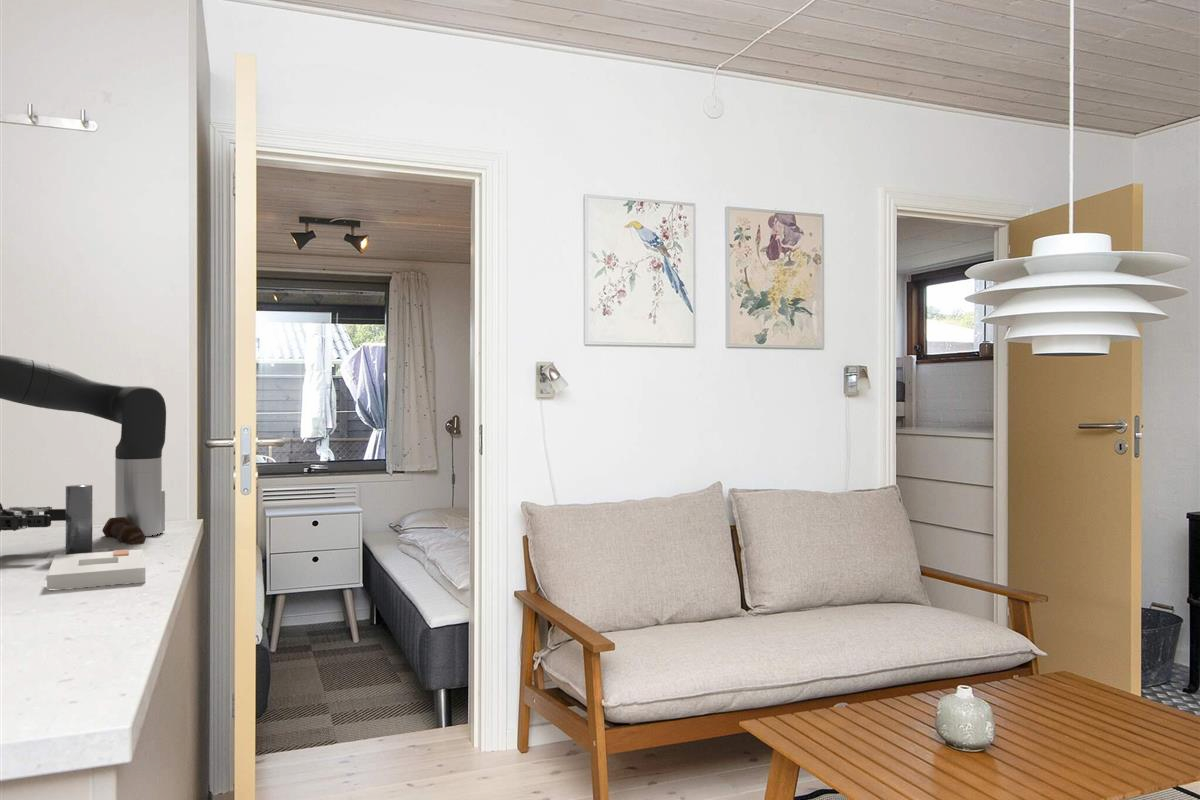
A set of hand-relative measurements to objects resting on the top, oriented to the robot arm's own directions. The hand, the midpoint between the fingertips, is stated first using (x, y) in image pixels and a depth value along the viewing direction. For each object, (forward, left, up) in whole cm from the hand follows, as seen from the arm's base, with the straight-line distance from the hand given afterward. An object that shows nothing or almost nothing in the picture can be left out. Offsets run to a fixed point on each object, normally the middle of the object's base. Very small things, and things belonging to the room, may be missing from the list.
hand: (60, 517), depth 168 cm
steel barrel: (-1, +3, -7) cm, 8 cm away
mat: (-1, +3, -8) cm, 9 cm away
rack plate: (+10, +19, -8) cm, 23 cm away
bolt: (-18, -2, -9) cm, 20 cm away
